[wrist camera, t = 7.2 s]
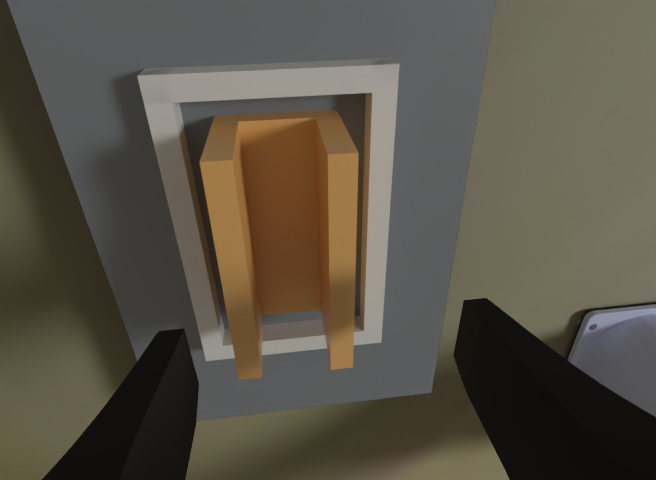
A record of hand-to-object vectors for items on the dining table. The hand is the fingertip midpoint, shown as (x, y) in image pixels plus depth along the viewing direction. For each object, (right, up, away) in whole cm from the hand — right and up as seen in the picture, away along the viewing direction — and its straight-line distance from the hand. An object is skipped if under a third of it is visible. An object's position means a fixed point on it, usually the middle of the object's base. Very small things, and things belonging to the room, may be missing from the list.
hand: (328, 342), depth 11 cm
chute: (-2, +3, +5) cm, 6 cm away
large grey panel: (-2, +4, +8) cm, 9 cm away
